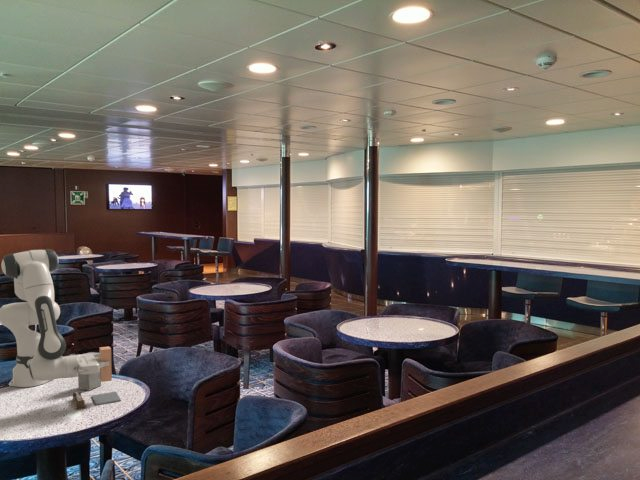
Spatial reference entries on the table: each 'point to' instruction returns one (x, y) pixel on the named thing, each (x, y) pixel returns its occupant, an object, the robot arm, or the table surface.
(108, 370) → the orange rectangular block
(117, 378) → the table surface
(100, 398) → the mat
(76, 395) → the bar
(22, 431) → the table surface
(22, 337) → the robot arm
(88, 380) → the skincare box
